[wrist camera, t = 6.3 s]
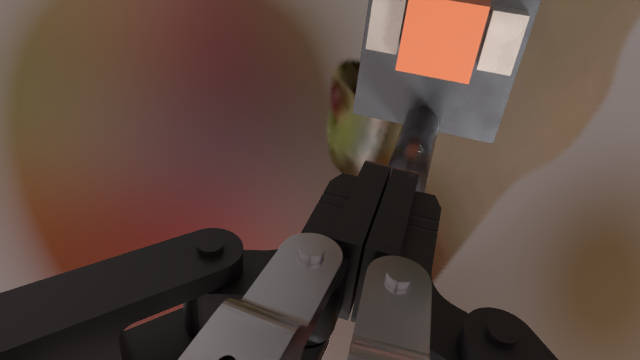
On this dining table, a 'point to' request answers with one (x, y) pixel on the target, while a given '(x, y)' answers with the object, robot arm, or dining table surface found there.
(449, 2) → the button
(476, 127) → the twin post stand
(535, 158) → the dining table surface
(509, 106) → the dining table surface
